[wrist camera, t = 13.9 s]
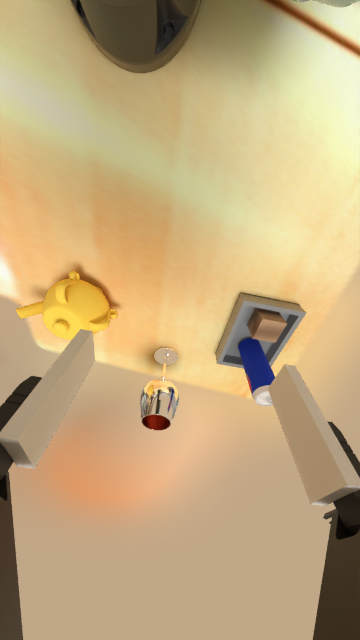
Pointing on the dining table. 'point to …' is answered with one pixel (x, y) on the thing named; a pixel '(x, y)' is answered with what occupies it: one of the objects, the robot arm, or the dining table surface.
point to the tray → (240, 331)
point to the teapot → (72, 308)
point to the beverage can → (256, 370)
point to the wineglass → (160, 395)
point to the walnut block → (266, 325)
